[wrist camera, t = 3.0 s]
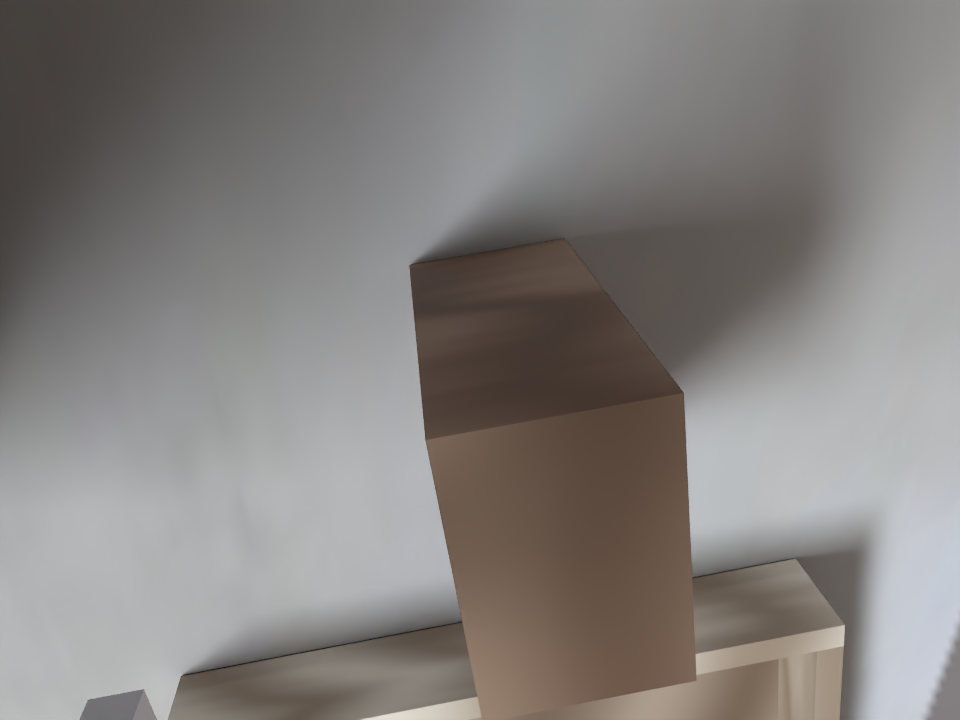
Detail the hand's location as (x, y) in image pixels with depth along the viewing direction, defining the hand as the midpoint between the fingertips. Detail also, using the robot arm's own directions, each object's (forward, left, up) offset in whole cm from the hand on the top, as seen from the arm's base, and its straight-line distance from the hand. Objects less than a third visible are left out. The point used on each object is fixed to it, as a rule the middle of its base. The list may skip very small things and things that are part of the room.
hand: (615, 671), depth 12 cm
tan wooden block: (0, 0, -11) cm, 11 cm away
